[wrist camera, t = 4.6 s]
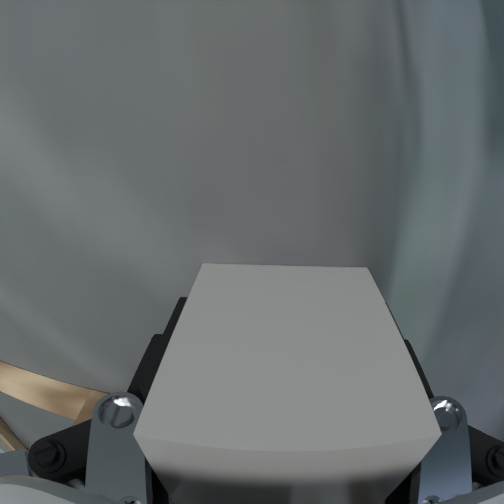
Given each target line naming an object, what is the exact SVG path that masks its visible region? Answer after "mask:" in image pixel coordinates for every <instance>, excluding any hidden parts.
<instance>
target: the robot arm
mask: <svg viewBox="0 0 504 504" xmlns="http://www.w3.org/2000/svg"><path fill="white" fill-rule="evenodd" d="M187 299H188V298H187V297H180V299H179V301H178V303H177V305H176V307H175V309H174V311H173V314H172V316H171V318H170V320H169V322H168V324H167V327H166V329H165V331H164V333H163V335H162V334H155V335H154V336H153V337H152V339H151V341H150V343H149V345H148V348H147V350H146V352H145V354H144V356H143V358H142V360H141V362H140V364H139V367H138V369H137V371H136V373H135V375H134V377H133V380H132V382H131V384H130V386H129V388H128V391H127V392H113V393H110V394H108V395H105V396H104V397H102V398H101V399H100V400H99V401H98V402H97V403H96V405H95V407H94V410H93V414H92V418H91V419H89V420H87V421H84V422H82V423H79V424H77V425H74V426H72V427H70V428H67V429H64V430H62V431H59V432H57V433H54V434H52V435H49V436H46V437H44V438H41V439H39V440H38V441H36V442H35V443H34V444H33V445H32V446H31V448H30V450H29V451H26V450H25V449H24V448H23V449H19V450H14V451H10V452H5V453H1V454H0V504H173V503H172V498H171V497H170V495H169V494H168V492H167V491H166V489H165V488H164V486H163V485H162V483H161V482H160V480H159V478H158V477H157V475H156V474H155V472H154V470H153V469H152V467H151V465H150V464H149V462H148V460H147V458H146V457H145V455H144V453H143V451H142V450H141V448H140V446H139V444H138V442H137V441H136V439H135V437H134V435H133V433H134V431H135V428H136V425H137V423H138V420H139V417H140V415H141V412H142V409H143V407H144V404H145V402H146V399H147V396H148V394H149V391H150V389H151V386H152V384H153V381H154V379H155V376H156V374H157V371H158V369H159V366H160V364H161V361H162V359H163V356H164V354H165V351H166V349H167V346H168V344H169V341H170V339H171V337H172V334H173V332H174V329H175V327H176V325H177V322H178V320H179V317H180V315H181V313H182V310H183V308H184V306H185V303H186V301H187ZM385 303H386V302H385ZM386 305H387V303H386ZM387 307H388V305H387ZM388 309H389V307H388ZM389 311H390V309H389ZM390 313H391V311H390ZM391 315H392V313H391ZM392 318H393V320H394V322H395V324H396V326H397V328H398V330H399V327H398V325H397V323H396V321H395V319H394V317H393V315H392ZM399 332H400V330H399ZM400 334H401V332H400ZM401 336H402V334H401ZM402 339H403V341H404V343H405V345H406V347H407V350H408V352H409V354H410V356H411V359H412V361H413V363H414V365H415V368H416V370H417V372H418V375H419V377H420V379H421V382H422V384H423V387H424V389H425V392H426V394H427V396H428V399H429V401H430V404H431V407H432V409H433V412H434V414H435V417H436V420H437V422H438V425H439V428H440V431H441V433H442V435H441V436H440V437H439V439H438V440H437V441H436V443H435V444H434V445H433V446H432V448H431V449H430V450H429V451H428V453H427V454H426V455H425V456H424V457H423V459H422V460H421V461H420V462H419V463H418V465H417V466H416V467H415V468H414V469H413V470H412V471H411V472H410V474H409V475H408V476H407V477H406V478H405V479H404V480H403V481H402V482H401V483H400V484H399V485H398V487H397V488H396V489H395V490H394V491H393V492H392V493H391V494H390V495H389V496H388V497H387V498H386V499H385V500H384V501H383V502H382V503H381V504H504V442H502V441H499V440H497V439H495V438H493V437H491V436H489V435H487V434H485V433H483V432H481V431H479V430H477V429H475V428H473V427H471V426H469V425H468V423H467V416H466V412H465V410H464V408H463V407H462V405H461V404H460V403H458V402H457V401H456V400H454V399H452V398H450V397H445V396H437V397H434V396H433V393H432V391H431V389H430V386H429V384H428V382H427V379H426V377H425V375H424V372H423V370H422V368H421V366H420V364H419V361H418V359H417V357H416V355H415V353H414V350H413V348H412V346H411V344H410V343H409V341H408V340H406V339H404V338H403V336H402Z"/></svg>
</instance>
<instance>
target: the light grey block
mask: <svg viewBox="0 0 504 504" xmlns="http://www.w3.org/2000/svg"><path fill="white" fill-rule="evenodd" d="M133 435H134V437H135V439H136V441H137V442H138V444H139V446H140V448H141V450H142V451H143V453H144V455H145V457H146V458H147V460H148V462H149V464H150V465H151V467H152V469H153V470H154V472H155V474H156V475H157V477H158V478H159V480H160V482H161V483H162V485H163V486H164V488H165V489H166V491H167V492H168V494H169V495H170V497H171V498H172V500H173V501H174V503H175V504H381V503H382V502H383V501H384V500H385V499H386V498H387V497H388V496H389V495H390V494H391V493H392V492H393V491H394V490H395V489H396V488H397V487H398V485H399V484H400V483H401V482H402V481H403V480H404V479H405V478H406V477H407V476H408V475H409V474H410V472H411V471H412V470H413V469H414V468H415V467H416V466H417V465H418V463H419V462H420V461H421V460H422V459H423V457H424V456H425V455H426V454H427V453H428V451H429V450H430V449H431V448H432V446H433V445H434V444H435V443H436V441H437V440H438V439H439V437H440V436H441V435H442V433H441V431H440V428H439V425H438V422H437V420H436V417H435V414H434V412H433V409H432V407H431V404H430V401H429V399H428V396H427V394H426V392H425V389H424V387H423V384H422V382H421V379H420V377H419V375H418V372H417V370H416V368H415V365H414V363H413V361H412V359H411V356H410V354H409V352H408V350H407V347H406V345H405V343H404V341H403V339H402V336H401V334H400V332H399V330H398V328H397V326H396V324H395V322H394V320H393V318H392V315H391V313H390V311H389V309H388V307H387V305H386V303H385V301H384V299H383V297H382V295H381V293H380V291H379V289H378V287H377V286H376V284H375V282H374V280H373V278H372V276H371V274H370V272H369V270H368V268H363V267H315V266H276V265H241V264H210V263H203V264H202V266H201V269H200V271H199V273H198V276H197V278H196V280H195V282H194V285H193V287H192V289H191V292H190V294H189V296H188V299H187V301H186V303H185V306H184V308H183V310H182V313H181V315H180V317H179V320H178V322H177V325H176V327H175V329H174V332H173V334H172V337H171V339H170V341H169V344H168V346H167V349H166V351H165V354H164V356H163V359H162V361H161V364H160V366H159V369H158V371H157V374H156V376H155V379H154V381H153V384H152V386H151V389H150V391H149V394H148V396H147V399H146V402H145V404H144V407H143V409H142V412H141V415H140V417H139V420H138V423H137V425H136V428H135V431H134V433H133Z"/></svg>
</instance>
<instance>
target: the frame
mask: <svg viewBox="0 0 504 504" xmlns="http://www.w3.org/2000/svg"><path fill="white" fill-rule="evenodd" d="M0 391H1V392H3V393H6V394H8V395H10V396H12V397H15V398H17V399H19V400H22V401H24V402H27V403H29V404H31V405H34V406H37V407H39V408H42V409H44V410H47V411H50V412H53V413H55V414H58V415H61V416H64V417H67V418H70V419H73V420H75V422H74V424H73V426H74V425H77V424H79V423H82V422H84V421H87V420H89V419H91V418H92V414H93V410H94V407H95V405H96V403H97V402H98V401H99V400H100V399H101V398H102V397H104V396H105V395H108V393H104V392H99V391H95V390H91V389H87V388H83V387H79V386H75V385H72V384H68V383H64V382H61V381H57V380H54V379H51V378H47V377H44V376H41V375H38V374H35V373H32V372H29V371H26V370H23V369H20V368H17V367H15V366H12V365H9V364H6V363H4V362H1V361H0ZM0 439H1V440H2V442H3V443H4V444H5V445H6V446H7V447H8V448H9V449H10V450H11V451H14V450H19V449H23V448H24V449H25V450H26V451H28V450H27V449H26V448H25V446H24V445H23V444H22V443H21V442H20V441H19V440H18V438H17V437H16V436H15V435H14V434H13V433H12V431H11V430H10V429H9V428H8V426H7V425H6V424H5V423H4V421H3V420H2V419H1V418H0Z"/></svg>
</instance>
